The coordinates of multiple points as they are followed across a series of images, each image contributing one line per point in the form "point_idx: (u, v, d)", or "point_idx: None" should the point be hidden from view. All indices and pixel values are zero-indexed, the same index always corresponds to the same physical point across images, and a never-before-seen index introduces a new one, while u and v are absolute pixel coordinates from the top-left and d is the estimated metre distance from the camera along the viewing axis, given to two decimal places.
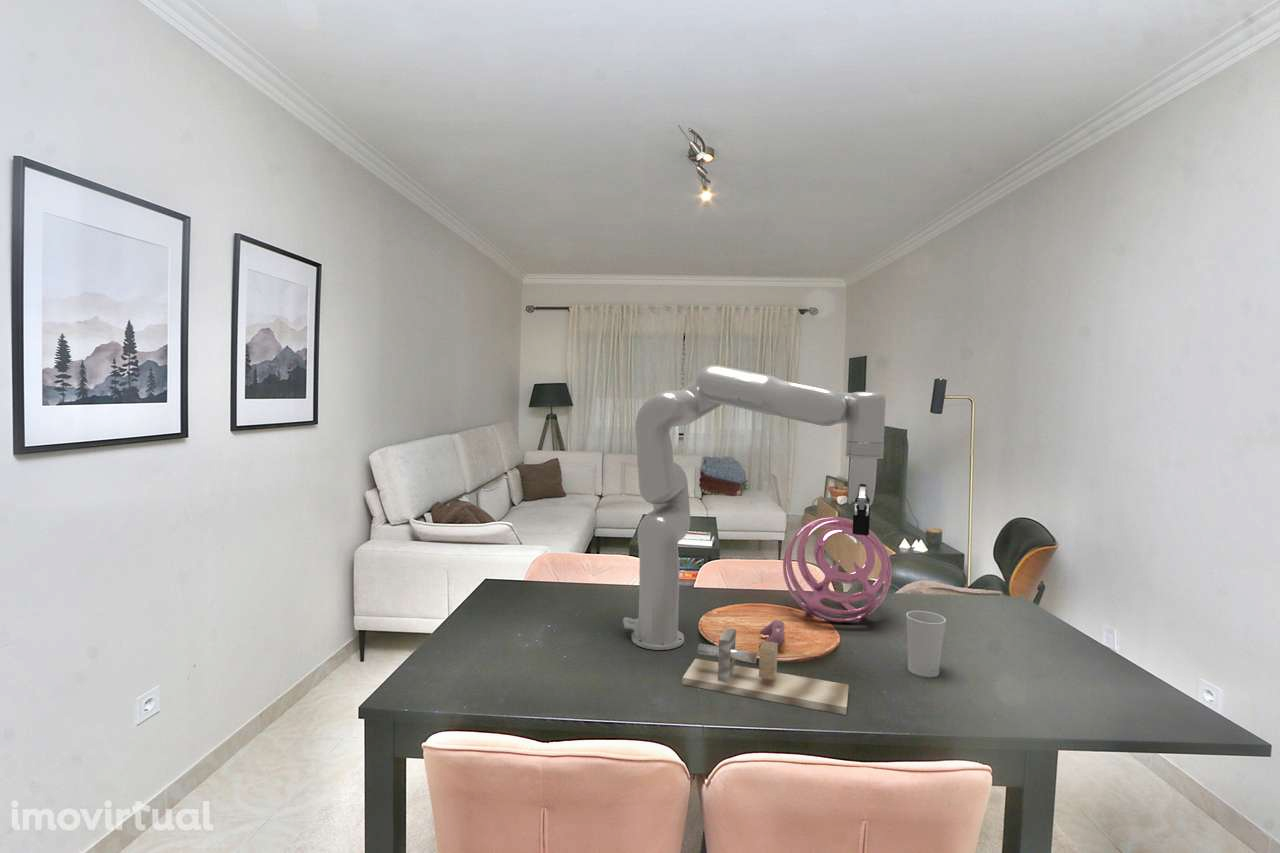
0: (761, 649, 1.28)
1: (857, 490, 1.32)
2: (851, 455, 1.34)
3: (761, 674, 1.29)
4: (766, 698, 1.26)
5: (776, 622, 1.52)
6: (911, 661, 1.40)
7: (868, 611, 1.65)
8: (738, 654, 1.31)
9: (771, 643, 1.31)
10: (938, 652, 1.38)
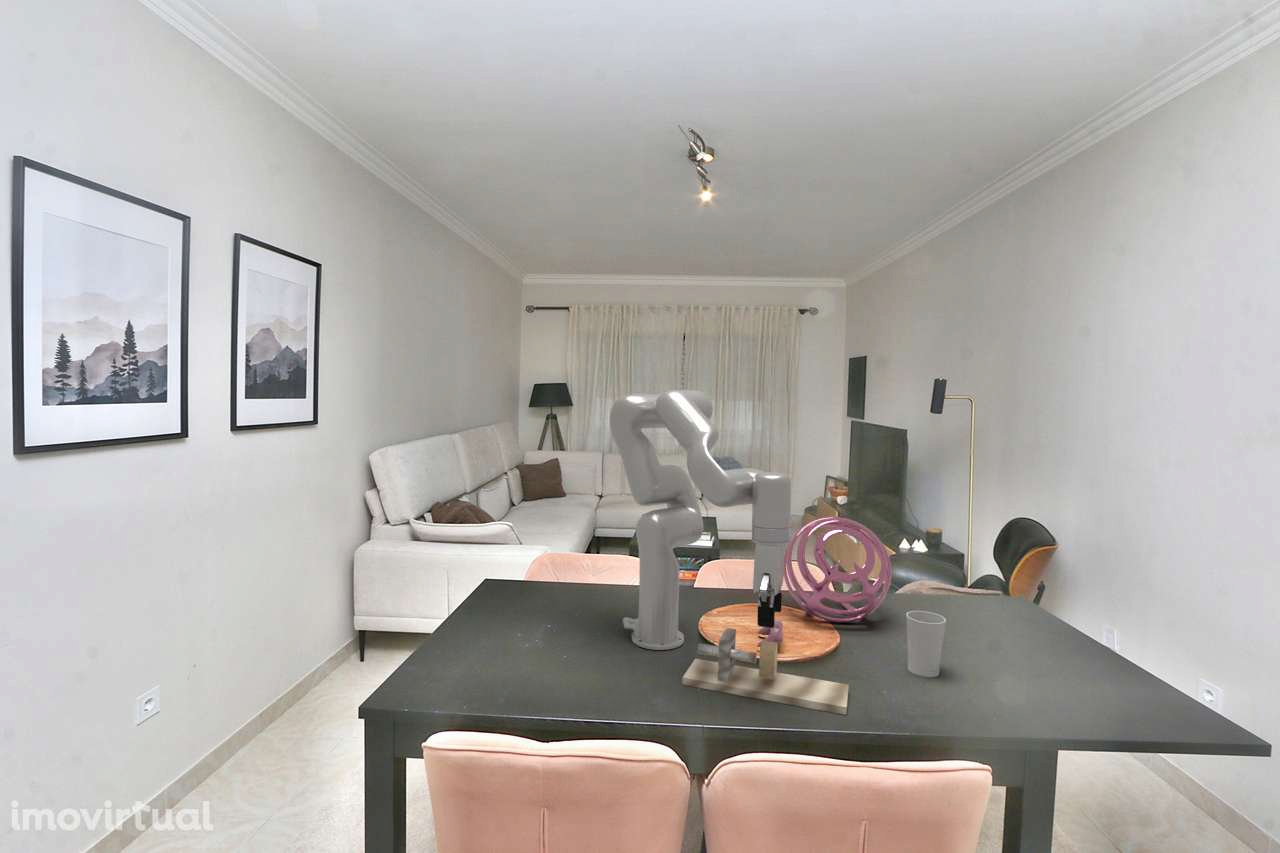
0: (761, 649, 1.28)
1: (761, 579, 1.25)
2: (755, 541, 1.27)
3: (761, 674, 1.29)
4: (766, 698, 1.26)
5: (774, 622, 1.52)
6: (911, 661, 1.40)
7: (868, 611, 1.65)
8: (738, 654, 1.31)
9: (771, 643, 1.31)
10: (938, 652, 1.38)
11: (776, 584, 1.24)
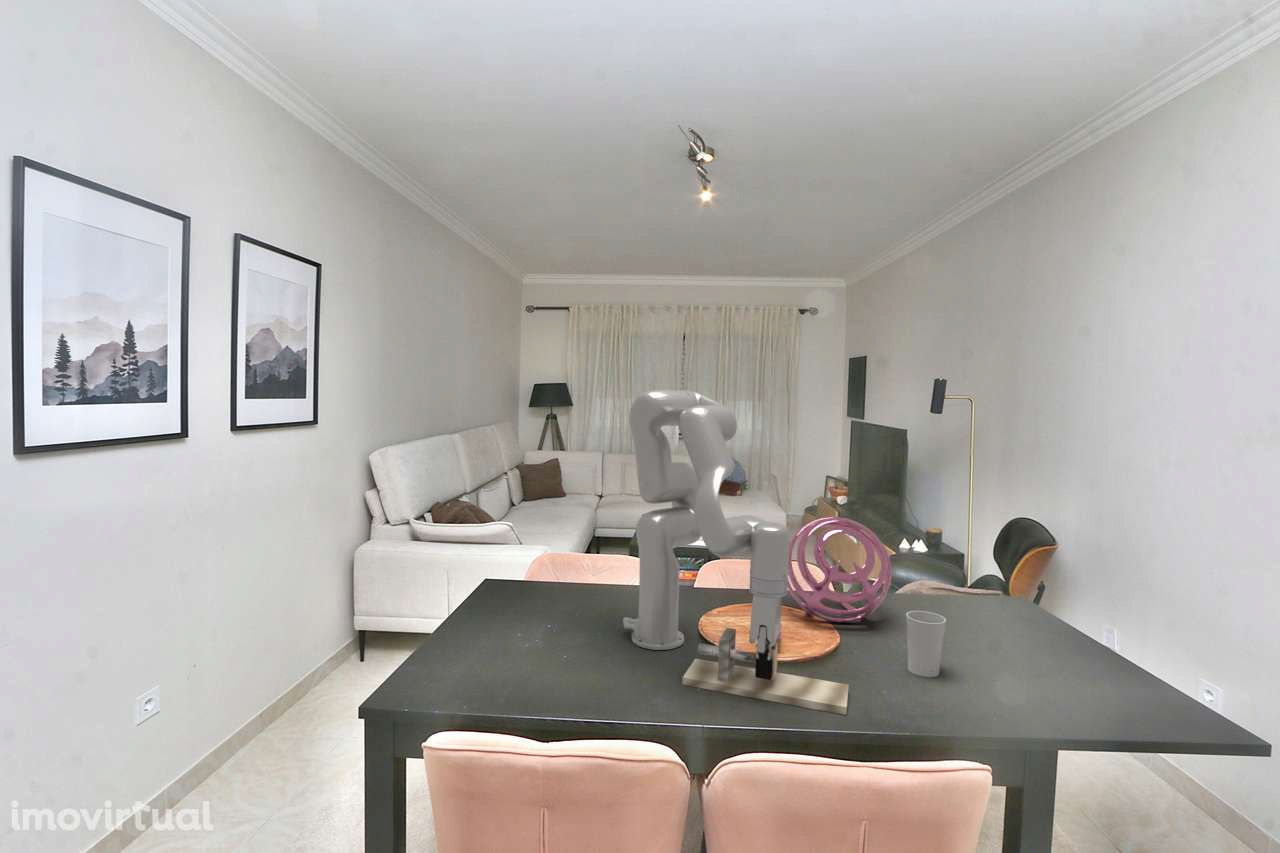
0: None
1: (758, 631, 1.25)
2: (753, 592, 1.28)
3: None
4: (766, 698, 1.26)
5: None
6: (911, 661, 1.40)
7: (868, 611, 1.65)
8: (738, 654, 1.31)
9: None
10: (938, 652, 1.38)
11: (772, 636, 1.25)
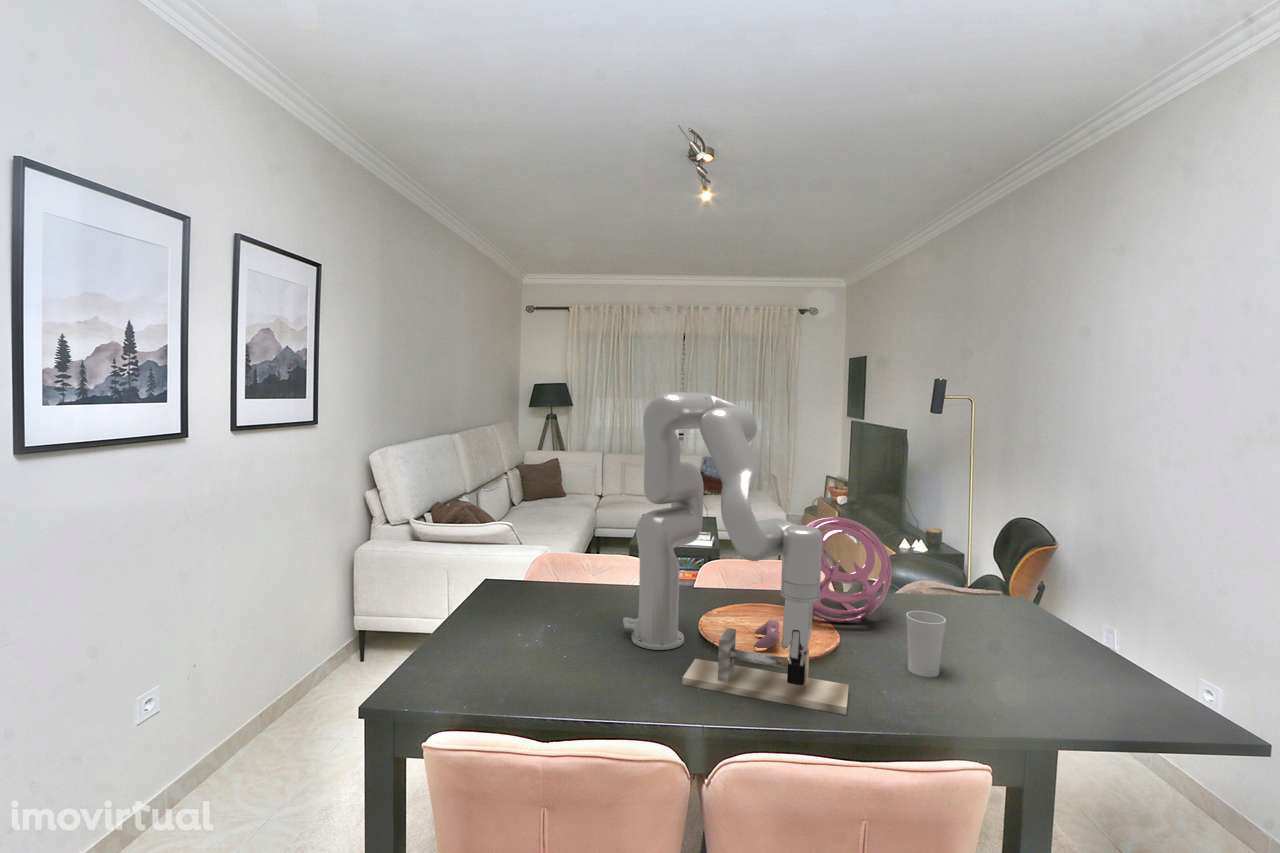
0: None
1: (790, 636, 1.23)
2: (785, 596, 1.26)
3: None
4: (766, 698, 1.26)
5: (771, 622, 1.52)
6: (911, 661, 1.40)
7: (868, 611, 1.65)
8: (769, 659, 1.29)
9: None
10: (938, 652, 1.38)
11: (806, 641, 1.23)
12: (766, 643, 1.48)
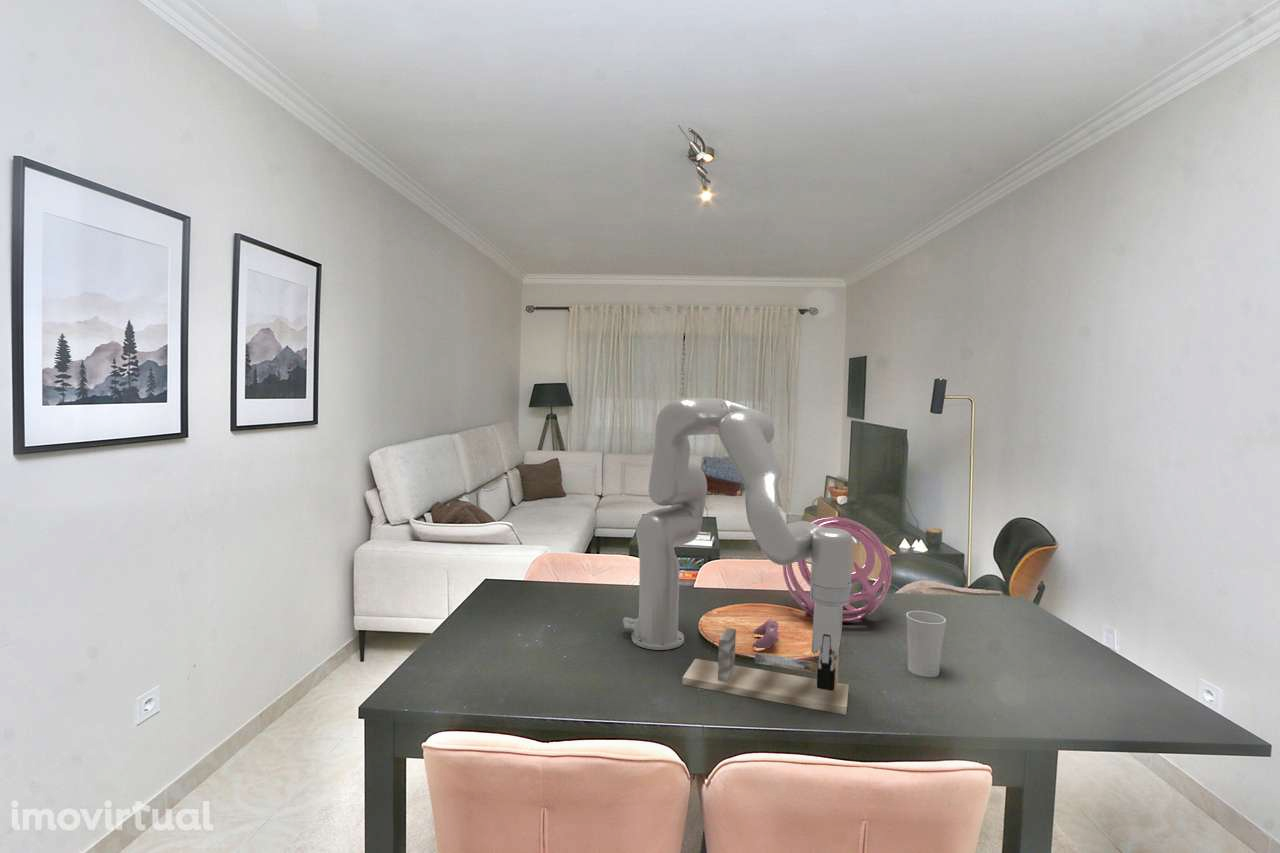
0: None
1: (821, 640, 1.21)
2: (815, 600, 1.24)
3: None
4: (766, 698, 1.26)
5: (770, 622, 1.52)
6: (911, 661, 1.40)
7: (868, 611, 1.65)
8: (798, 664, 1.27)
9: None
10: (938, 652, 1.38)
11: (837, 646, 1.21)
12: (765, 643, 1.48)
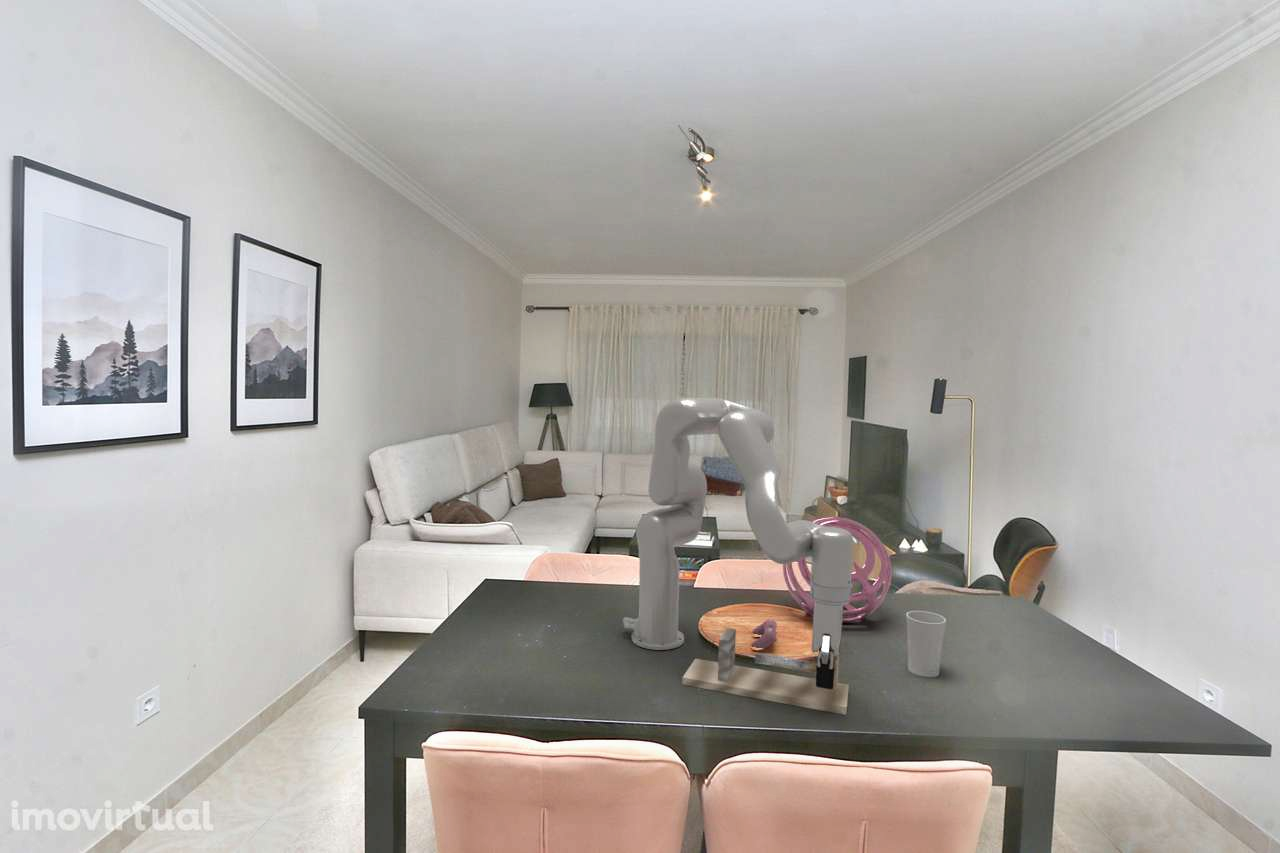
0: None
1: (821, 640, 1.21)
2: (815, 599, 1.24)
3: None
4: (766, 698, 1.26)
5: (768, 622, 1.52)
6: (911, 661, 1.40)
7: (868, 611, 1.65)
8: (798, 664, 1.27)
9: None
10: (938, 652, 1.38)
11: (836, 645, 1.21)
12: (763, 643, 1.48)
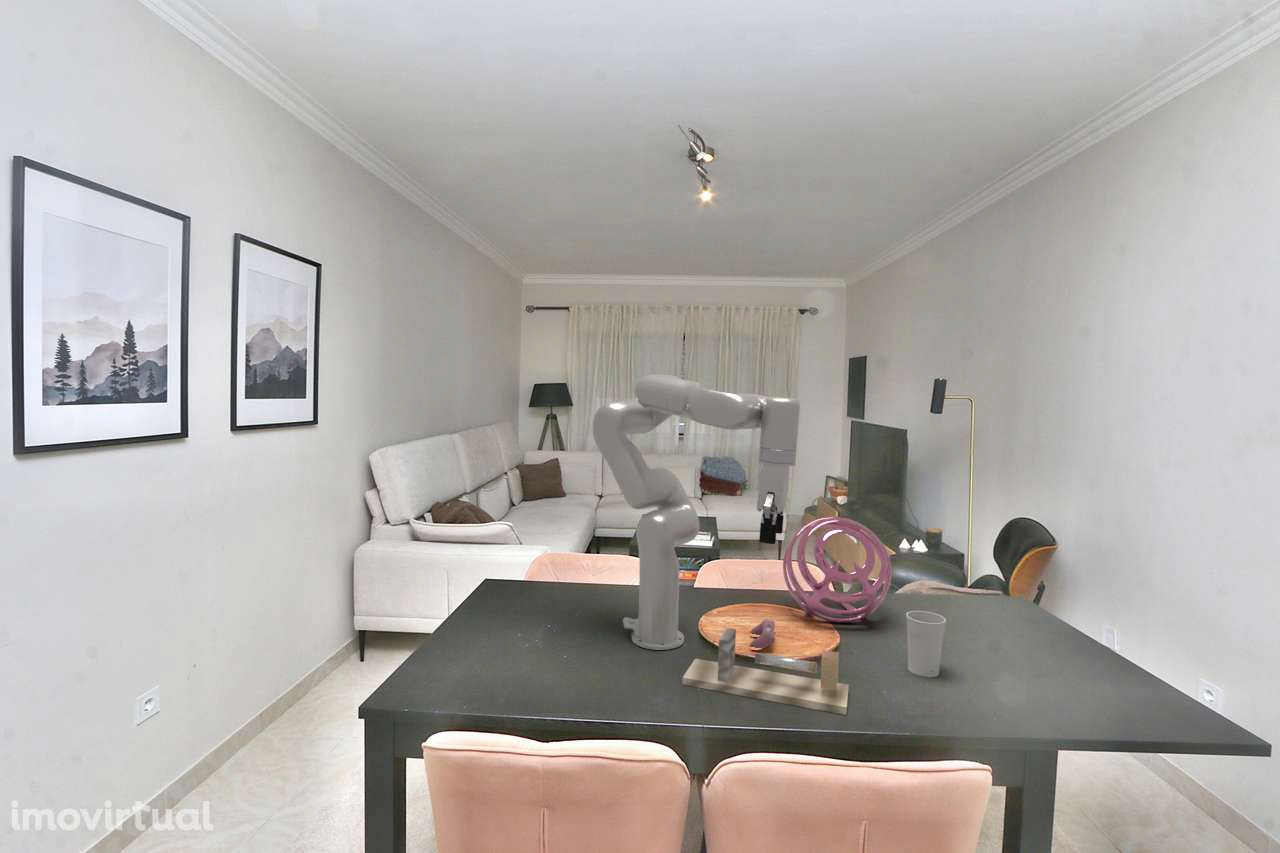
0: (823, 659, 1.24)
1: (765, 498, 1.29)
2: (762, 461, 1.31)
3: (823, 685, 1.25)
4: (766, 698, 1.26)
5: (766, 621, 1.53)
6: (911, 661, 1.40)
7: (868, 611, 1.65)
8: (798, 664, 1.27)
9: (832, 652, 1.27)
10: (938, 652, 1.38)
11: (780, 503, 1.29)
12: (762, 642, 1.48)
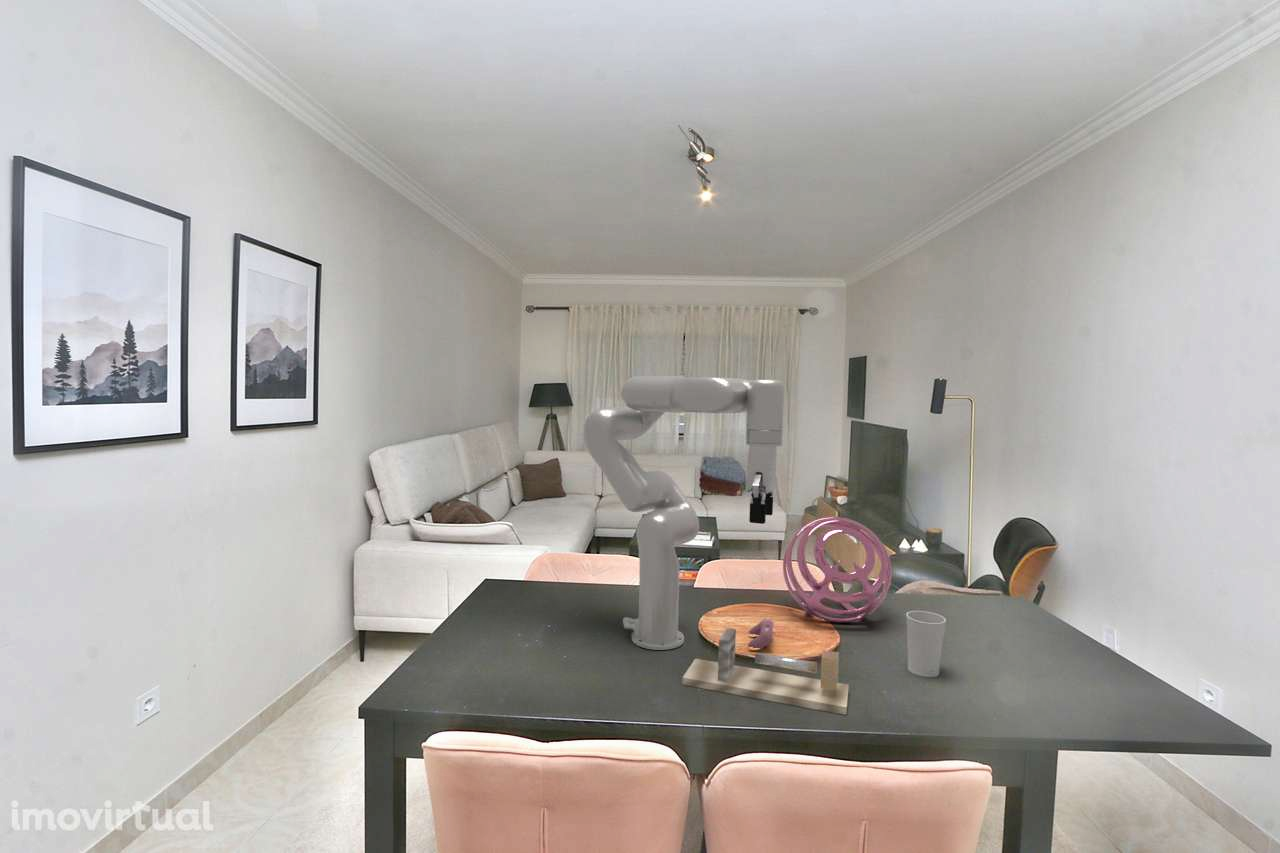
0: (823, 659, 1.24)
1: (753, 478, 1.31)
2: (749, 443, 1.34)
3: (823, 685, 1.25)
4: (766, 698, 1.26)
5: (765, 621, 1.53)
6: (911, 661, 1.40)
7: (868, 611, 1.65)
8: (798, 664, 1.27)
9: (832, 652, 1.27)
10: (938, 652, 1.38)
11: (768, 482, 1.31)
12: (760, 642, 1.48)
